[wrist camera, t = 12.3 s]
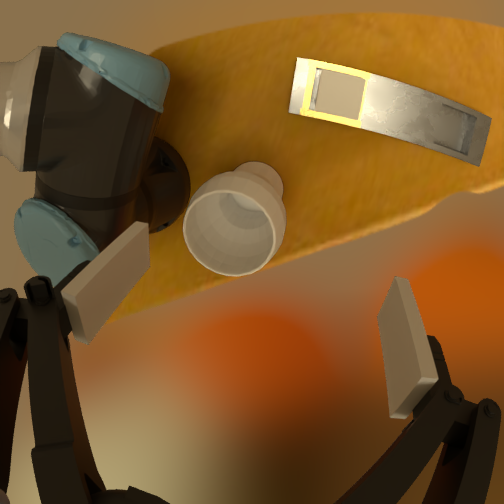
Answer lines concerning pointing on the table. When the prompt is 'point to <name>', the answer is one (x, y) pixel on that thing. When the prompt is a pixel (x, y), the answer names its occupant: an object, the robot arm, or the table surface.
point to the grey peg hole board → (399, 112)
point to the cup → (236, 220)
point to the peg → (340, 94)
